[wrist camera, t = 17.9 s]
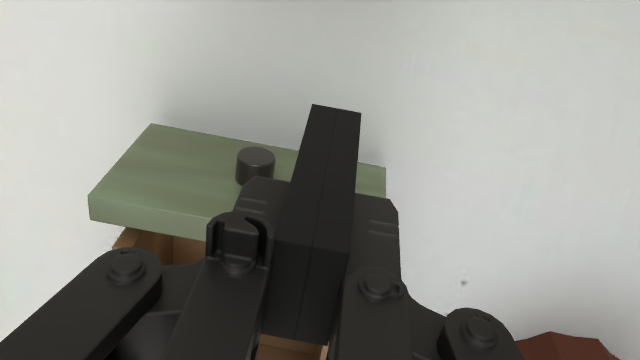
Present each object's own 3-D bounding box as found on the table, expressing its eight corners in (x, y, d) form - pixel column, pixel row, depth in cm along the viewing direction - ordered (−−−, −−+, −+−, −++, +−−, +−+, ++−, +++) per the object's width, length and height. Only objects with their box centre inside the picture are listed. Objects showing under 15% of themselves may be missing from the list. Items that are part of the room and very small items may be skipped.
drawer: (149, 99, 24) (83, 168, 19) (391, 144, 24) (393, 227, 19) (155, 317, 32) (109, 410, 27) (337, 352, 32) (328, 451, 27)
